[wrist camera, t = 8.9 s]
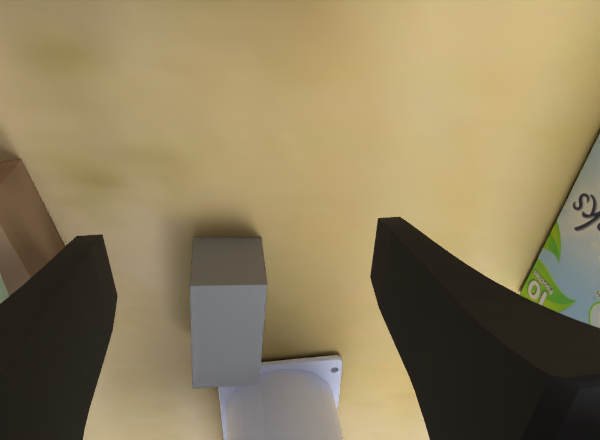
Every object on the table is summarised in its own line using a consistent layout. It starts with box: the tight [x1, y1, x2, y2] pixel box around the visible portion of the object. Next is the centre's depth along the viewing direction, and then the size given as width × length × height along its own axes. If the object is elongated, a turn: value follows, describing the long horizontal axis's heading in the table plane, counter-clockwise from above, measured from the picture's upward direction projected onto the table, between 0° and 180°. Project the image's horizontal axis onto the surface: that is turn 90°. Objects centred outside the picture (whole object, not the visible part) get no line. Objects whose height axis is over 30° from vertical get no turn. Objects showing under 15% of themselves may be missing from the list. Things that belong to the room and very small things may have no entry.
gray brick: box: [190, 237, 268, 388], centre depth 25 cm, size 7×4×4 cm, turn 174°
